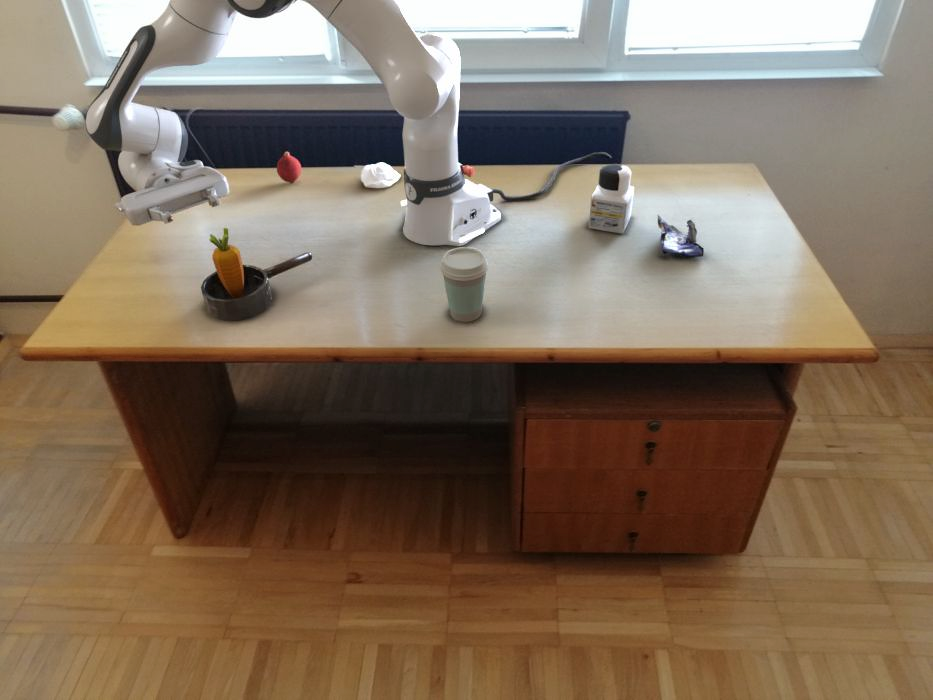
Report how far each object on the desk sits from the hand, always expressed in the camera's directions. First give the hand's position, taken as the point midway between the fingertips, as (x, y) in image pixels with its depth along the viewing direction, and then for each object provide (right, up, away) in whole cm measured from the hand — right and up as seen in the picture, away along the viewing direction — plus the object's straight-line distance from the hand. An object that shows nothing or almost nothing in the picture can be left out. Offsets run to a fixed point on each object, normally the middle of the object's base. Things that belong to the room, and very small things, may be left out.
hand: (192, 210), depth 137 cm
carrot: (+8, -17, +2) cm, 19 cm away
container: (+84, +1, +22) cm, 87 cm away
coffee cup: (+52, -20, -3) cm, 56 cm away
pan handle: (+17, -11, +5) cm, 21 cm away
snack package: (+96, -5, +14) cm, 97 cm away
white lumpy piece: (+31, +15, +41) cm, 53 cm away
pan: (+9, -17, +2) cm, 19 cm away
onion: (+9, +15, +41) cm, 44 cm away
